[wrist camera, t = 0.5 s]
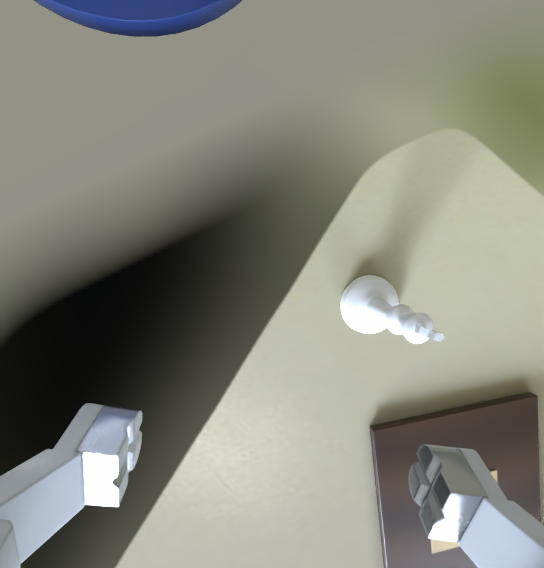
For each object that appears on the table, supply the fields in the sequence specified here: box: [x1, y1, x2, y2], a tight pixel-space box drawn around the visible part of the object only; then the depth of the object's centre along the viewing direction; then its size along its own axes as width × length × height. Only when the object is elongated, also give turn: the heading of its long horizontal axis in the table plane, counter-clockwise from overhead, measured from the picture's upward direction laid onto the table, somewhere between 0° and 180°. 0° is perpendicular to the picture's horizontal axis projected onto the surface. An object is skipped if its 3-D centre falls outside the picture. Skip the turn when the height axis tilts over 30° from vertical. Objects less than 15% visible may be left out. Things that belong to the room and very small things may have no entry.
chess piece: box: [340, 275, 445, 344], centre depth 26 cm, size 5×5×10 cm
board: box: [370, 392, 540, 568], centre depth 35 cm, size 20×16×1 cm
